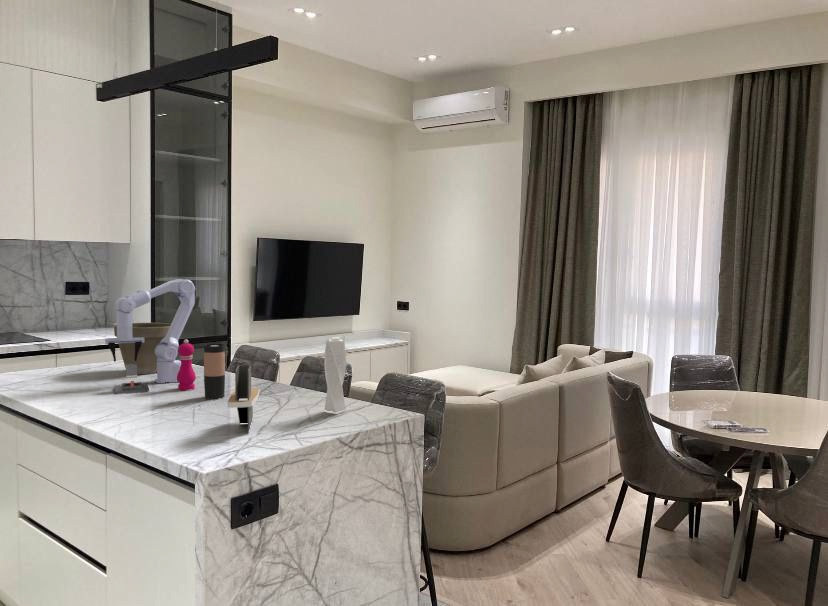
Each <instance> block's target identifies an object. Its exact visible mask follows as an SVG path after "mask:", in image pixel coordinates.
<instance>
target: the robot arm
mask: <svg viewBox="0 0 828 606" xmlns="http://www.w3.org/2000/svg"><path fill="white" fill-rule="evenodd" d="M195 291H196V287H195V285H194V283H193V281H191V280H190V279H181V278H176V279H174V280H169V281H166V282H164V283H162V284H161V285H158V286H156V287H154V288H151V289H149V290H145V289H137V290H136V292H134V293H131V294H127V295H125V297H119V298H117V299H116V300H115V303H114V305H113V307H114V310H116V325H117V337H112V338H110V337H109V338H105V339H104V344H105V345H108V348H109V350H110V352H111V355H112V357H113V362H114V363H115V362H117V357H116V344H118V343H135V357H134V359H135V361H137V355H138V352H139V349H140V347H141V345H142V343H144V337H133V334H132V323H133V310H134V309H137V308H139V307H142V306H144V305H146V304H148V303H150V302H151V300H152V299H154V298H155V297H158V296H161V295H164V294H167V293H169V292H172V293H174V294H175V295H176V296H177V297H178V299H179V302H180V304H179V306H178V308H177V311H176V313H175V315H174V317H173V319H172V321H171V323H170V324H171V326H170V328H169V330H168V332H167V334H166V336H165V337H164V338H163V339H162V340H161V342H160V344H159V345H157V346H156V348H155V355H156V356H157V357H158V358H157V373H156V374H157V375H156V379H155V382H156V383H157V384H165V382H166V384H167V382H169V383H179V382H178V381H177V375H178V372H179V370H180V366H181V359H176V358H177V357H178V353H179V352H178V348H179V346H180V345H179V339H180V337H181V336H182V333H183V331H184V328H185V326H186V323H187V322H188V319H189V317H190V315H191V313H192V311H193V308H194V306H195V304H196V303H195V302H196V299H195V298H196V296H195ZM120 341H129V342H120Z"/></svg>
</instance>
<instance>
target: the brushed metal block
mask: <svg viewBox="0 0 828 606" xmlns="http://www.w3.org/2000/svg"><path fill="white" fill-rule="evenodd" d="M125 373H126V374H125V377H126V379H131V378H132V379H134V378H138V375H139V374H137V363H126V368H125Z"/></svg>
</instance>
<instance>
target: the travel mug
mask: <svg viewBox="0 0 828 606" xmlns="http://www.w3.org/2000/svg"><path fill="white" fill-rule="evenodd" d="M225 349H226V348H225V344H223V343H207V344H204V345H203V385H204V399H206V398H209V399H208V400H219V399H218V398H221V399H223V397H224V398H225V392H226V391H225V388H226V386H225V385H226V382H225V381H226V360H225V359H226V357H225V356H226V355H225V353H226V352H225V351H226V350H225Z"/></svg>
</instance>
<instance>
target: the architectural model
mask: <svg viewBox="0 0 828 606" xmlns="http://www.w3.org/2000/svg"><path fill="white" fill-rule="evenodd" d="M234 372H235V373H234V374H235V378H234V380H235V381H234V382H235V384H234V386H235V390H234V391H232V393H231V394H230V396H229V398H228V401H227V407H228V408H229V409H231V408H232V409H233V408H235V409H237V417H238V422H239V424H240V423H248V425H247V432H248V431H249V429H250V430H251V428H250V425H251V422H252V423H253V421H252V418H254V417H253V416H254V415H253V414H254V413H253V411H254V407H253V406H254V404H255V403H256V402H257V401H258V399H259V396H260V388H259V387H252V365H251V364H247V365H246V364H245V365H244V364H241V365H237V367H236V369H235V371H234ZM240 399H245V400H240ZM251 426H252V425H251Z"/></svg>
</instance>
